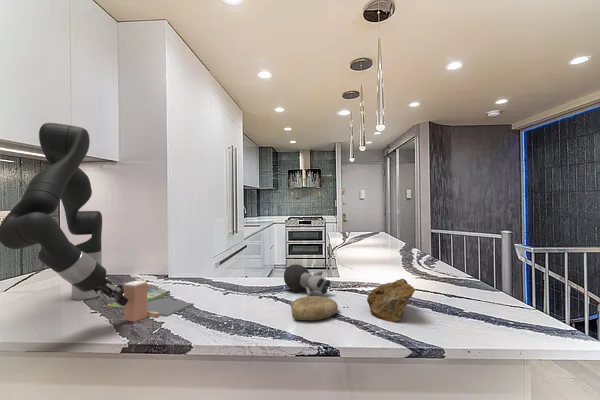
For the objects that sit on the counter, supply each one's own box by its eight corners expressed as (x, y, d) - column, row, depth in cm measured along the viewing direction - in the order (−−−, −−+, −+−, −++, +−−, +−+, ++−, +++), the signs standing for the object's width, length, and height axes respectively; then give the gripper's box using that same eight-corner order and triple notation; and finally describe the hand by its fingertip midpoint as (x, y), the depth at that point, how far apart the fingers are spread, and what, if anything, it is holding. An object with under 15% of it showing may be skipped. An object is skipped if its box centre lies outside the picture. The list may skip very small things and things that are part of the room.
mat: (131, 310, 102) (131, 308, 102) (160, 299, 113) (160, 298, 113) (166, 316, 95) (166, 315, 95) (193, 304, 106) (193, 303, 106)
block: (124, 319, 93) (124, 283, 93) (137, 314, 97) (137, 280, 97) (134, 321, 91) (134, 285, 92) (147, 316, 96) (147, 281, 96)
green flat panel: (106, 309, 105) (130, 311, 102) (106, 304, 105) (130, 307, 102) (149, 292, 124) (170, 294, 122) (149, 289, 124) (170, 290, 122)
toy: (338, 284, 121) (298, 271, 132) (329, 268, 113) (288, 256, 125) (327, 308, 115) (286, 293, 127) (316, 293, 108) (274, 279, 119)
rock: (375, 306, 108) (354, 290, 106) (402, 274, 107) (382, 258, 105) (397, 340, 89) (372, 321, 87) (431, 302, 88) (407, 283, 86)
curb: (130, 312, 99) (130, 309, 99) (132, 311, 100) (132, 308, 100) (157, 317, 94) (157, 313, 94) (159, 316, 95) (159, 312, 95)
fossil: (343, 323, 89) (343, 307, 89) (292, 325, 88) (292, 309, 88) (332, 303, 106) (332, 290, 106) (289, 305, 105) (289, 292, 105)
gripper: (108, 260, 80) (148, 294, 91) (76, 257, 85) (118, 289, 96) (87, 285, 75) (132, 317, 86) (55, 280, 80) (101, 311, 91)
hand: (124, 302), depth 91 cm, fingers closed
